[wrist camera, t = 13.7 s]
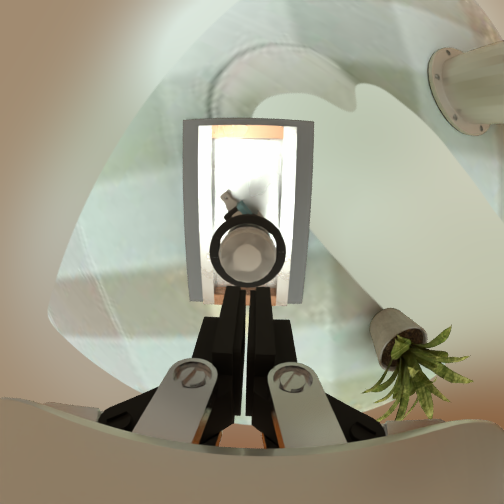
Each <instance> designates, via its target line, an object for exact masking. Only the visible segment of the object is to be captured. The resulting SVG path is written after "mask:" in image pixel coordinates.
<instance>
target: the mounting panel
mask: <svg viewBox="0 0 504 504" xmlns="http://www.w3.org/2000/svg"><path fill="white" fill-rule="evenodd" d="M208 125H269V126H289V127H297V146H296V176H295V199H294V218H293V235H292V250H291V264H290V277H289V289H288V301H287V304H302V298H303V289H304V280H305V270H306V260H307V249H308V237H309V223H310V209H311V192H312V172H313V145H314V122H312V121H301V120H285V119H264V118H213V119H192V120H183V202H184V227H185V246H186V261H187V275H188V287H189V298H190V301H200V302H203V292H202V276H201V257H200V234H199V197H198V130H199V126H208Z"/></svg>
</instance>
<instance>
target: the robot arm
mask: <svg viewBox="0 0 504 504" xmlns="http://www.w3.org/2000/svg"><path fill="white" fill-rule="evenodd" d="M428 72H429V81H430V86H431V90H432V93H433V96H434V98H435V100H436V102H437V105H438V107H439V108H440V110H441V112H442V113H443V115H444V116H445V117H446V119H447V120H448V121H449V122H450V123H451V125H452V126H453V127H455V128H456V129H457V130H458V131H460V132H462V133H464V134H466V135H470V136H478V135H482V134H483V133H485V132H486V131H487V130H488V129H489V127H490V125H491V124H504V41H500V42H497V43H493V44H490V45H487V46H483V47H480V48H477V49H474V50H471V51H468V52H465V53H463V52H461V51H459V50H457V49H455V48H443V49H440V50H438V51H437V52H435V53H434V54H433V56H432V57H431V59H430V62H429V70H428ZM245 315H246V290H241V286H226V290H225V294H224V299H223V303H222V308H221V312H220V317H204V319H203V322H202V326H201V329H200V332H199V335H198V339H197V342H196V345H195V349H194V352H193V355H192V358H188V359H184V360H181V361H178V362H177V363H175V364H173V365H172V367H171V368H170V369H169V371H168V372H167V374H166V376H165V377H164V379H163V381H162V382H161V384H160V386H159V387H156V388H154V389H152V390H150V391H147V392H145V393H143V394H141V395H138V396H136V397H134V398H131V399H129V400H126V401H124V402H122V403H119V404H117V405H114V406H112V407H110V408H108V409H106V410H105V411H100V409H99V408H94V407H84V406H74V405H67V404H61V403H55V402H48V403H45V404H41V403H37V402H34V401H30V400H25V399H19V398H6V397H5V398H0V504H504V430H503V429H502V428H501V427H500V426H499V425H497V424H496V423H493V422H491V421H486V420H457V421H449V422H445V421H443V420H441V419H427V420H406V421H386V423H385V424H380V423H379V422H378V421H377V420H375V419H373V418H371V417H370V416H368V415H366V414H364V413H362V412H360V411H358V410H356V409H354V408H352V407H350V406H349V405H347V404H345V403H343V402H341V401H339V400H337V399H336V398H334V397H332V396H330V395H329V394H327V393H325V392H324V390H323V387H322V385H321V383H320V381H319V378H318V376H317V374H316V373H315V372H314V370H312V369H311V368H310V367H309V366H306V365H304V364H301V363H297V358H296V352H295V346H294V340H293V335H292V329H291V323H290V320H274V319H273V315H272V304H271V292H270V287H256V290H250V308H249V327H248V346H247V378H246V416H252V425H253V426H254V427H255V428H257V429H258V430H259V431H260V432H262V441H263V446H264V449H252V448H251V449H250V448H231V447H219V444H220V441H221V438H222V430H224V429H225V428H227V427H228V426H230V425H231V424H234V417H235V415H236V416H240V415H241V401H242V385H243V369H244V354H245Z"/></svg>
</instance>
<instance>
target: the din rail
mask: <svg viewBox="0 0 504 504" xmlns="http://www.w3.org/2000/svg"><path fill="white" fill-rule="evenodd" d="M296 146H297V127H289V126H269V125H208V126H199V130H198V197H199V234H200V257H201V276H202V292H203V304H219V305H222V303H223V299H224V294H225V290H226V286H235V285H233V284H230V283H228V282H227V281H225V280H224V279H223V278H221V277H220V276H219V275H218V273H217V272H216V271H215V269H214V267H213V265H212V263H211V260H210V254H209V249H210V242H211V239H212V237H213V235H214V233H215V231H216V230H217V228H218V227H219V226H220V225H221V224H222V223H223V222H225V220H224V218H223V217H224V215H225V214H226V213H227V212H228V210H227V208H226V207H225V206H226V205H225V203H224V202H223V201H222V200H221V198H220V196H221V195H222V194H223V193H224V192H226V191H228V193H229V194H230V195H231V196H232V198H233V199H236V200H237V201H238V203H239V202H240V201H243V202H244V203H245V204H246V206H247V207H248V208H249V209H250V211H251V212H252V213H254V214H257V213H258V211H259V212H260V213H261V214H262V216H263V217H264V218H266V219H268V220H269V221H271V222H272V223H273V224H274V225H275V226H276V227H277V228H278V229H279V231H280V232H281V234H282V236H283V238H284V241H285V245H286V258H285V262H284V265H283V267H282V269H281V271H280V272H279V273H278V275H277V276H276V277H275V278H273V279H272V280H271V281H269V282H268V283H266V284H264V285H261V286H258V287H270V292H271V304H272V306H287V301H288V289H289V277H290V264H291V250H292V235H293V218H294V199H295V176H296ZM225 199H228V197H227V196H225ZM229 230H230V229H229ZM229 230H228V231H227V232H226V233H225V234H224V235H223V236H222V238H221V242H222V240H223V239H224V238H225V236H226V235H227V233H228V232H229ZM269 235H270V236H271V239H272V240H273V242H274V245H275V247H276V241H275V239H274V238H273V236H272V235H271V234H270V233H269ZM221 242H220V244H221ZM241 290H246V305H250V290H256V287H251V288H245V287H241Z"/></svg>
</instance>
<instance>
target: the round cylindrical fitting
mask: <svg viewBox="0 0 504 504" xmlns="http://www.w3.org/2000/svg"><path fill="white" fill-rule="evenodd" d="M225 196H227V197H228V199H225ZM220 198H221V200H222V201H223V202H224V203H225V205H226V206H225V207H226V208H227V210H228V212H227V213H226V214H225V215H224V217H223V218H224V220H225V222H223V223H222V224H221V225H220V226H219V227H218V228H217V230H216V231H215V233H214V235H213V237H212V239H211V242H210V249H209V254H210V260H211V263H212V265H213V267H214V269H215V271H216V272H217V273H218V275H219V276H220V277H221V278H223V279H224V280H225V281H227V282H228V283H230V284H233V285H235V286H241V287H245V288H251V287H258V286H261V285H264V284H266V283H268V282H269V281H271V280H272V279H273V278H275V277H276V276H277V275H278V273H279V272H280V271H281V269H282V267H283V265H284V262H285V258H286V245H285V241H284V238H283V236H282V234H281V232H280V231H279V229H278V228H277V227H276V226H275V225H274V224H273V223H272V222H271V221H269V220H268V219H266V218H264V217H263V216H262V214H261V213H260V212H259V211H258V213H257V214H254V213H252V212H251V211H250V209H249V208H248V207H247V206H246V204H245V203H244V202H243V201H240V202H239V203H238V201H237V200H236V199H233V198H232V196H231V195H230V194H229V193H228V191H226V192H224V193H223V194H222V195H221V196H220ZM229 229H230V230H229ZM228 230H229V232H228V233H227V235H226V236H225V238H224V239H223V240H222V242H221V238H222V236H223V235H224V234H225V233H226V232H227V231H228ZM269 233H270V234H271V235H272V236H273V238H274V239H275V241H276V247H275V245H274V242H273V240H272V239H271V236H270V235H269ZM220 242H221V244H220Z"/></svg>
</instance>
